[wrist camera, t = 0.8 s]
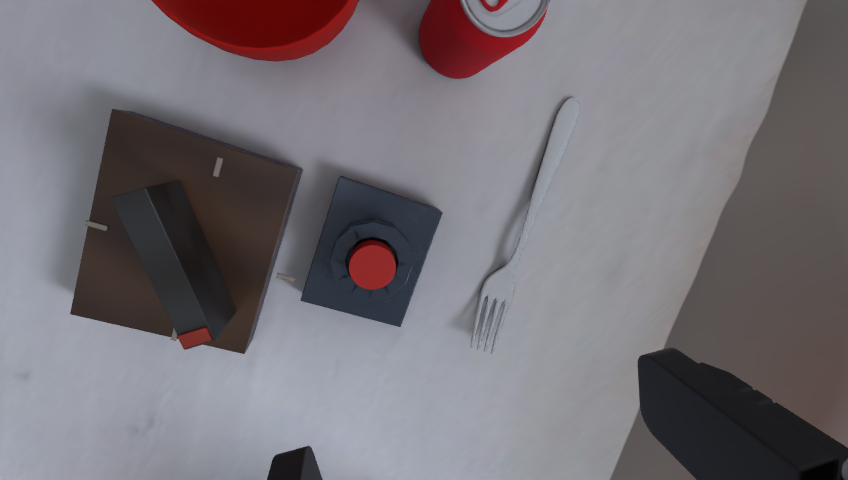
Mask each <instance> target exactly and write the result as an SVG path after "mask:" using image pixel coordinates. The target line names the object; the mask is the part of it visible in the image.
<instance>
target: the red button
mask: <svg viewBox="0 0 848 480" xmlns="http://www.w3.org/2000/svg"><path fill="white" fill-rule="evenodd" d="M395 271H396V263H395V259H394V256H393V253H392V251H391V249H390V248H389V247H388V246H387V245H386V244H384V243H383V242H380V241H377V240H367V241H364V242H362V243H360V244H358V245H357V246H356V247H355V248H354V249H353V251H352V253H351V255H350V261H349V273H350V276H351V278H352V279H353V281H354V282H355V283H356V284H357V285H359V286H360V287H362V288H365V289H370V290H374V289H379V288H382V287H384V286H386V285H387V284H388V283H389V282H390V281H391V280H392V278H393V277H394V274H395Z"/></svg>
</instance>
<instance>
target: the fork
mask: <svg viewBox="0 0 848 480" xmlns="http://www.w3.org/2000/svg"><path fill="white" fill-rule="evenodd" d="M578 114H579V102H578V100H577V99H576V98H574V97H571V98H569V99H568V100H567V101H566V102H565V103H564V104H563V105H562V106H561V108H560V110H559V111H558V113H557V115H556V118H555V121H554V124H553V127H552V130H551V134H550V137H549V140H548V143H547V147H546V150H545V153H544V157H543V160H542V163H541V166H540V170H539V173H538V176H537V179H536V183H535V186H534V190H533V194H532V198H531V201H530V205H529V209H528V212H527V216H526V219H525V223H524V226H523V229H522V232H521V235H520V238H519V241H518V244H517V247H516V249H515V251H514V254H513V255H512V257H511V259H510V260H509V262H508V263H507V264H506V265H505V266H504V267H502V268H501V269H500V270H498V271H496V272H495V273H493V274H492V275H490V276H489V277H488V278H487V279H486V281H485V283H484V285H483V287H482V290H481V294H480V298H479V303H478V307H477V312H476V317H475V322H474V326H473V332H472V338H471V344H470V347H471V348H472V346H473V342H474V338H475V334H476V331H477V326H478V322H479V317H480V313H481V308H482V305H483V301H484V298H485V297H486V296H488V300H487V305H486V309H485V313H484V317H483V322H482V326H481V330H480V335H479V340H478V346H477V349H478V350H479V347H480V344H481V340H482V337H483V333H484V330H485V326H486V322H487V318H488V314H489V311H490V308H491V305H492V302H493V300H494V299H495V298H496V304H495V308H494V312H493V315H492V319H491V323H490V327H489V330H488V334H487V339H486V343H485V348H484V352H486V350H487V346H488V343H489V340H490V337H491V334H492V330H493V327H494V323H495V320H496V316H497V313H498V310H499V308H500V305H501V303H502V302H503V301H505V304H504V307H503V310H502V314H501V317H500V320H499V323H498V327H497V330H496V333H495V337H494V341H493V345H492V350H491V354H493V351H494V348H495V345H496V342H497V339H498V336H499V333H500V330H501V327H502V324H503V321H504V318H505V315H506V312H507V309H508V307H509V304H510V302H511V299H512V296H513V293H514V289H515V279H514V270H515V267H516V264H517V262H518V260H519V258H520V255H521V253H522V250H523V248H524V245H525V243H526V240H527V237H528V235H529V232H530V229H531V227H532V224H533V222H534V219H535V217H536V214H537V212H538V210H539V207H540V205H541V203H542V200H543V198H544V196H545V194H546V192H547V189H548V187H549V185H550V182H551V180H552V178H553V175H554V173H555V171H556V168H557V166H558V164H559V162H560V159H561V157H562V155H563V153H564V150H565V148H566V146H567V144H568V141H569V139H570V137H571V134H572V132H573V130H574V127H575V125H576V123H577V119H578Z"/></svg>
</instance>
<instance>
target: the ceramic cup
mask: <svg viewBox="0 0 848 480" xmlns="http://www.w3.org/2000/svg"><path fill="white" fill-rule="evenodd" d="M152 1H153V2H154V3H155V4H156V5H157V6H158V7H159V8H160V9H161V10H162V11H163V12H164V13H165V15H167V16H168V17H169V18H170V19H172V20H173V21H174V22H176V23H177V24H178V25H180V26H181V27H183V28H184V29H185V30H187V31H188V32H189V33H191V34H192V35H194V36H196V37H198V38H200V39H202V40H204V41H206V42H208V43H210V44H212V45H214V46H216V47H218V48H220V49H222V50H224V51H227V52H230V53H233V54H237V55H240V56H244V57H247V58H251V59H255V60H267V61H284V60H292V59H297V58H300V57H303V56H306V55H309V54H312V53H314V52H316V51H317V50H319V49H321V48H322V47H324V46H325V45H327V44H329V43H330V42H331V41H332V40H333V39H334V38H335V37H336V36H337V35H338V34H339V33H340V32H341V31H342V29H343V28H344V27H345V25H346V24H347V22H348V21H349V19H350V18H351V16H352V15H353V13H354V11H355V8H356V6H357V4H358V1H359V0H152Z"/></svg>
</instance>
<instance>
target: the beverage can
mask: <svg viewBox="0 0 848 480" xmlns="http://www.w3.org/2000/svg"><path fill="white" fill-rule="evenodd" d="M549 2H550V0H431V1H430V3H429V5H428V7H427V9H426V11H425V13H424V16H423V18H422V21H421V24H420V30H419V40H420V46H421V50H422V53H423V55H424V57H425V59H426V60H427V62H428V63H429V65H430V66H431V67H432V68H433V69H434V70H436V71H437V72H438V73H440V74H442V75H444V76H446V77H449V78H455V79H461V78H467V77H470V76H473V75H474V74H476V73H478V72H480V71H481V70H483V69H484V68H486V67H488V66H489V65H491V64H492V63H494V62H496V61H497V60H499V59H501V58H502V57H504V56H505V55H507V54H509V53H510V52H512V51H513V50H515V49H517V48H518V47H520V46H522V45H523V44H524V43H526V42H527V41H528V40H529V39H530V38H531V37H532V36H533V35H534V34H535V33H536V31H537V30H538V28H539V27H540V25H541V23H542V21H543V19H544V17H545V14H546V11H547V8H548V4H549Z"/></svg>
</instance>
